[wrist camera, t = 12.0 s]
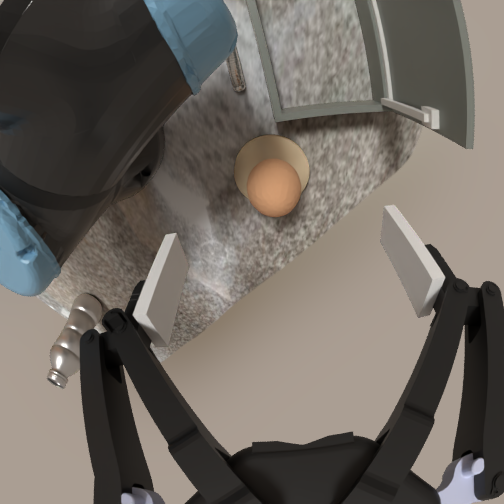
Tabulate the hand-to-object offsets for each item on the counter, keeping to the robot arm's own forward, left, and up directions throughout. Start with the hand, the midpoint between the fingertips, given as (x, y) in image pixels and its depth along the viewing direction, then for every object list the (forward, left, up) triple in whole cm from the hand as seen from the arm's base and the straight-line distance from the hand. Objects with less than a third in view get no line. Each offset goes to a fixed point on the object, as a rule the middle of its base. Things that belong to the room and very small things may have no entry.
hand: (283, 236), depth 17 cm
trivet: (0, -3, -18) cm, 18 cm away
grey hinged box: (+8, +13, -18) cm, 24 cm away
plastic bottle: (-40, -21, -18) cm, 49 cm away
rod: (-2, +13, -18) cm, 23 cm away
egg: (0, -3, -17) cm, 17 cm away
